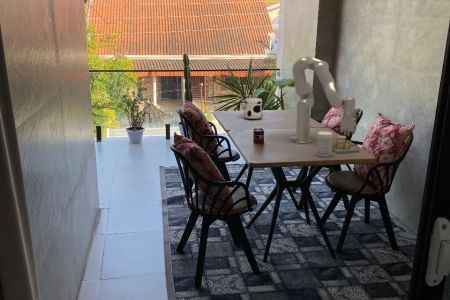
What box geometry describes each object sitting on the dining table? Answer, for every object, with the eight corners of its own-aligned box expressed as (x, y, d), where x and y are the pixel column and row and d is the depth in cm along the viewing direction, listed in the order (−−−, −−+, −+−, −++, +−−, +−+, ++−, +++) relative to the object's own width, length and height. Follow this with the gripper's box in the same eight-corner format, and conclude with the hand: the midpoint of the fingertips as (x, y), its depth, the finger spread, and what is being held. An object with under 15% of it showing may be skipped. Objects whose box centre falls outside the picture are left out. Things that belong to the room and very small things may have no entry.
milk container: (240, 117, 403) (241, 98, 399) (258, 116, 408) (258, 97, 404) (247, 121, 387) (247, 100, 383) (265, 120, 392) (266, 100, 388)
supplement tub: (321, 152, 290) (322, 130, 286) (334, 154, 283) (335, 132, 279) (313, 155, 283) (314, 132, 279) (326, 158, 277) (327, 135, 273)
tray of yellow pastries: (337, 153, 286) (338, 140, 283) (322, 146, 304) (323, 133, 302) (359, 152, 290) (360, 139, 287) (343, 144, 308) (344, 132, 306)
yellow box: (349, 149, 289) (350, 142, 288) (330, 147, 293) (331, 140, 292) (351, 143, 305) (351, 136, 303) (333, 142, 308) (333, 135, 307)
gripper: (361, 115, 297) (359, 141, 301) (341, 113, 307) (340, 138, 311) (356, 117, 291) (354, 143, 296) (336, 114, 301) (334, 140, 306)
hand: (347, 141), depth 304 cm, fingers closed
